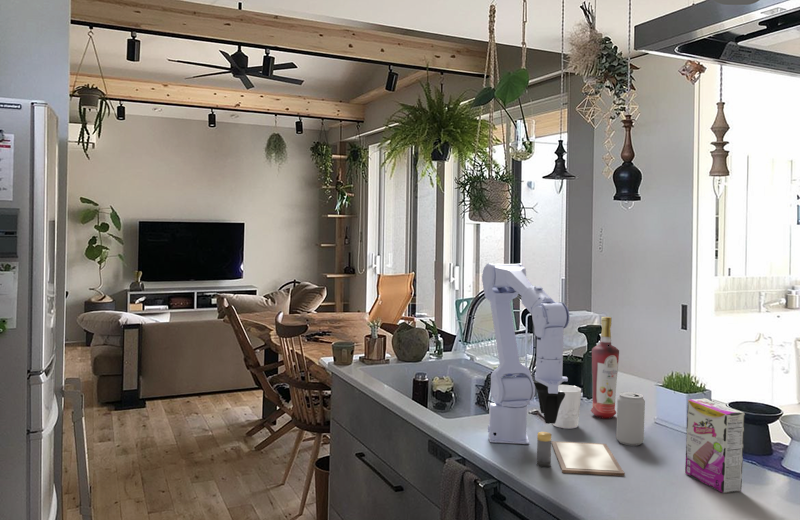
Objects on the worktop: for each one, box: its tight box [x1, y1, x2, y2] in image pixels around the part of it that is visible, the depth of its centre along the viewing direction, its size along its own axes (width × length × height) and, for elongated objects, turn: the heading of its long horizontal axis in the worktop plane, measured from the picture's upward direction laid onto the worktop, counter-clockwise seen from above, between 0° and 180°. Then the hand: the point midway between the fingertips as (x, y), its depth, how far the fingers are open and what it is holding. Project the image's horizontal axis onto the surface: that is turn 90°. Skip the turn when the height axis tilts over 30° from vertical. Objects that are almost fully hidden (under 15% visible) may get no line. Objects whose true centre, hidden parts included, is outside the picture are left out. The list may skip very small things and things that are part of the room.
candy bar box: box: [684, 398, 746, 494], centre depth 135 cm, size 11×5×16 cm, turn 17°
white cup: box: [552, 384, 582, 430], centre depth 174 cm, size 8×8×10 cm
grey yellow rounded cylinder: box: [536, 431, 552, 469], centre depth 144 cm, size 3×3×7 cm
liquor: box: [590, 316, 620, 420], centre depth 182 cm, size 7×7×28 cm
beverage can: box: [615, 391, 646, 447], centre depth 160 cm, size 6×6×12 cm
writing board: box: [551, 440, 626, 477], centre depth 149 cm, size 13×19×1 cm
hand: (547, 417), depth 144 cm, fingers open, 7 cm apart
